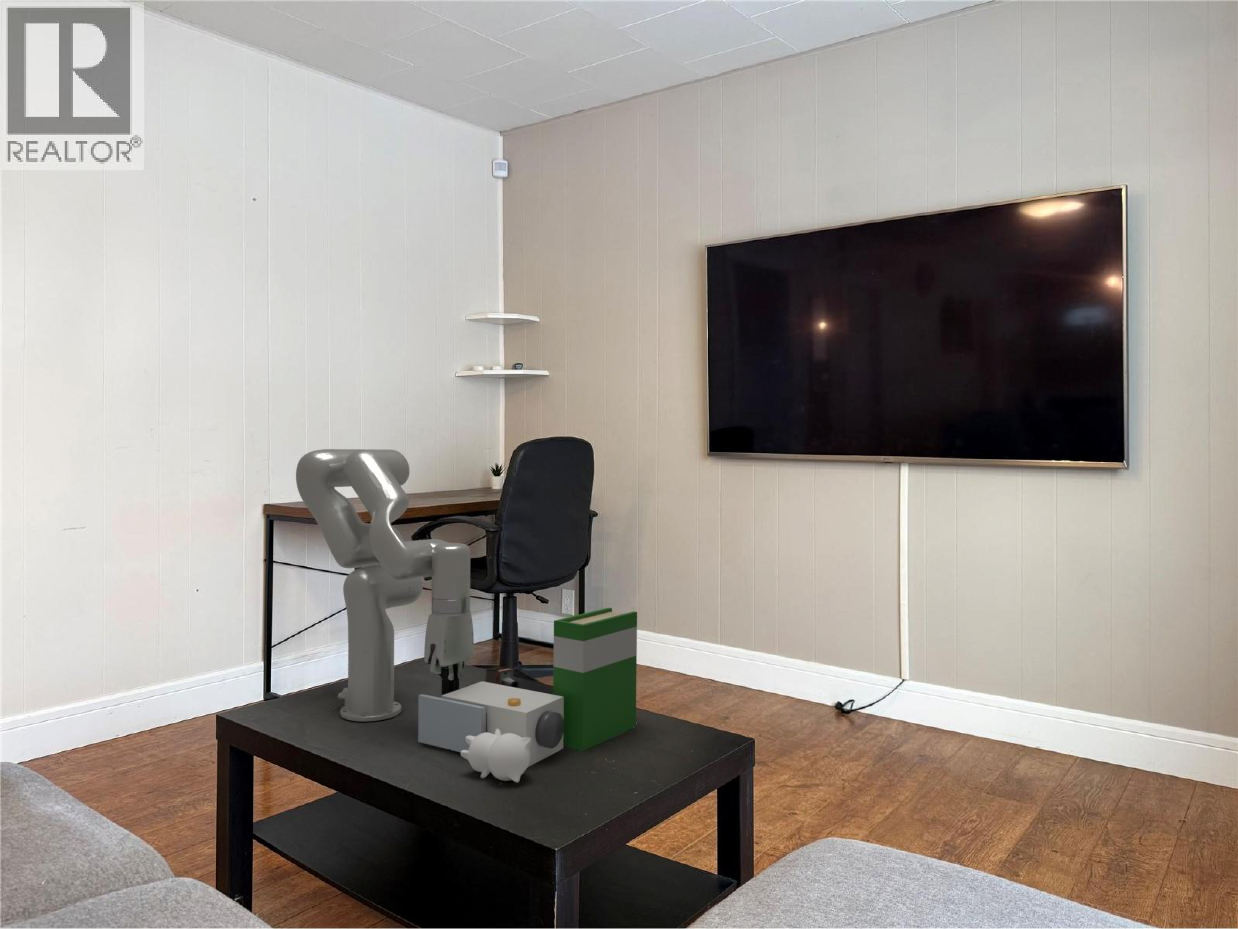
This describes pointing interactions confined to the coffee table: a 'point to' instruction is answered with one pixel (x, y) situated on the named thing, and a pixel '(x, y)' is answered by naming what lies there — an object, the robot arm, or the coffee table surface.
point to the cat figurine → (498, 754)
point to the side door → (448, 722)
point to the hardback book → (596, 675)
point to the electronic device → (501, 677)
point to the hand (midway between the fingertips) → (450, 697)
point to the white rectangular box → (519, 714)
